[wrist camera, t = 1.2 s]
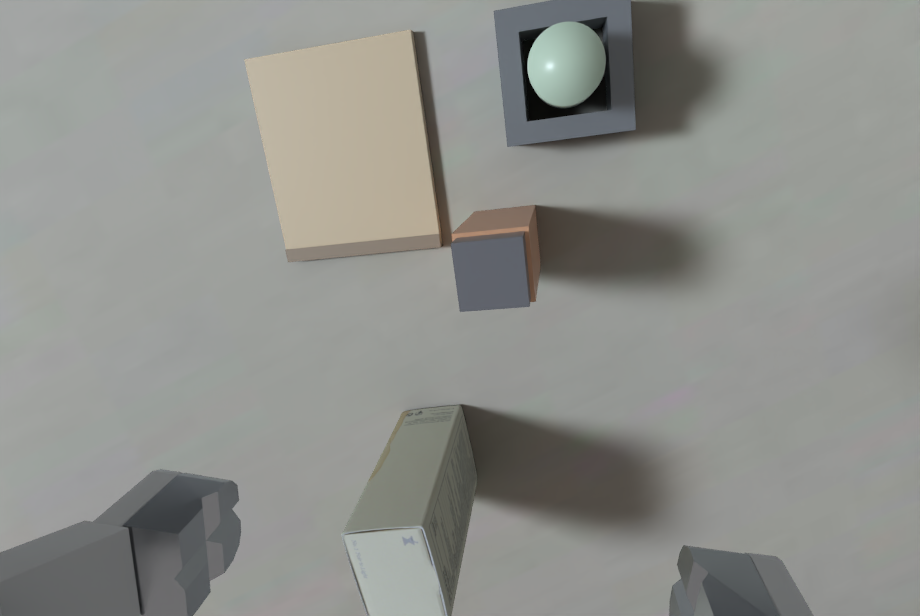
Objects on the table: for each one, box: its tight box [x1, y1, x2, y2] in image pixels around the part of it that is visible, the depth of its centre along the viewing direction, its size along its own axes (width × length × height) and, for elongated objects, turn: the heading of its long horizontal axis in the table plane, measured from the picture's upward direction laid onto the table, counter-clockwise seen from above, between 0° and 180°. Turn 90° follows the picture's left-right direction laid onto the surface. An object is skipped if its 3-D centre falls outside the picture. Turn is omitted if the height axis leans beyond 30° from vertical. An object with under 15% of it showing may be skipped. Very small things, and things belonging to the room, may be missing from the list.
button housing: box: [494, 0, 636, 147], centre depth 29 cm, size 6×6×3 cm
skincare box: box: [342, 405, 478, 616], centre depth 33 cm, size 6×4×12 cm
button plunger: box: [527, 21, 606, 108], centre depth 26 cm, size 3×3×4 cm
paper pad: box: [244, 30, 443, 262], centre depth 33 cm, size 10×12×1 cm
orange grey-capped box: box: [451, 205, 541, 312], centre depth 29 cm, size 4×4×9 cm
